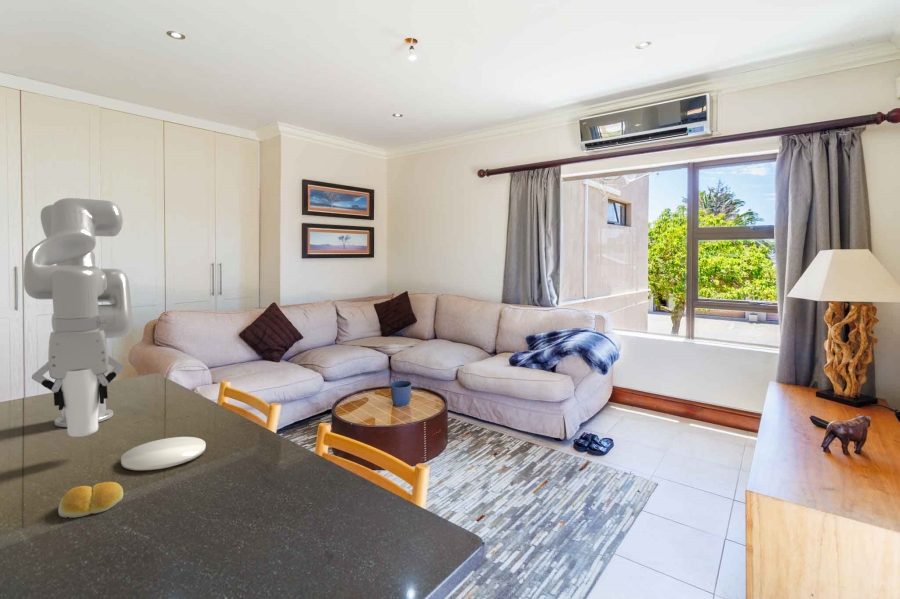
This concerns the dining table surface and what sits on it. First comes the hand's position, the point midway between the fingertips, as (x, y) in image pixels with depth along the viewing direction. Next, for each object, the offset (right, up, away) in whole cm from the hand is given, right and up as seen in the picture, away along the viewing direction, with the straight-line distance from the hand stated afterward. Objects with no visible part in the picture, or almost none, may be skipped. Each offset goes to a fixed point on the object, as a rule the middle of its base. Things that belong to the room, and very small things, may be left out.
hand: (82, 404), depth 101 cm
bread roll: (+17, -14, -19) cm, 30 cm away
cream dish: (+18, -12, +1) cm, 21 cm away
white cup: (0, -7, +1) cm, 7 cm away
